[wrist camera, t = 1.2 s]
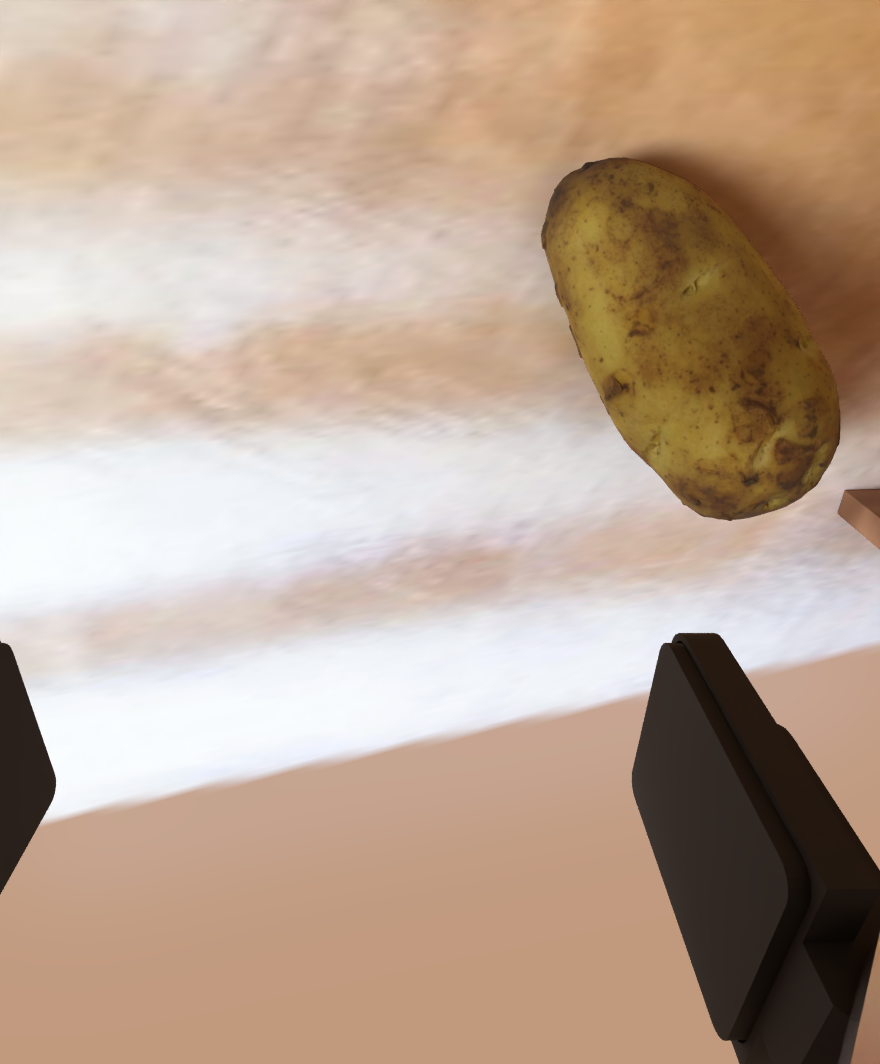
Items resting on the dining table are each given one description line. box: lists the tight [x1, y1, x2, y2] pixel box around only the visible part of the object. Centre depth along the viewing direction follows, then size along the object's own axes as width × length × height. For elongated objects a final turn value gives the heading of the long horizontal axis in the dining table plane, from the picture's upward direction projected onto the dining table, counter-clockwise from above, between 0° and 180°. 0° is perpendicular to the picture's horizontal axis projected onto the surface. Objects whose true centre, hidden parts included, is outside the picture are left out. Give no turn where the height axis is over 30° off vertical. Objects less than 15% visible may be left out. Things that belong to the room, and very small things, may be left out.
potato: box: [541, 158, 840, 521], centre depth 24 cm, size 8×13×8 cm, turn 18°
